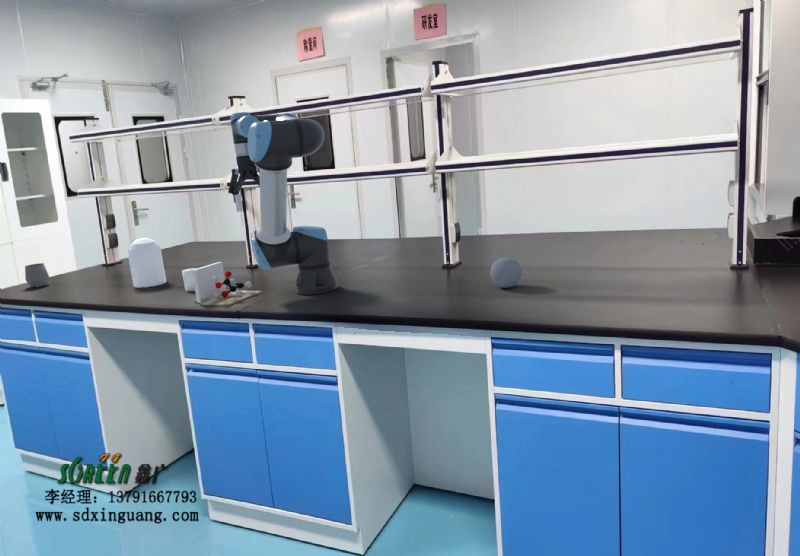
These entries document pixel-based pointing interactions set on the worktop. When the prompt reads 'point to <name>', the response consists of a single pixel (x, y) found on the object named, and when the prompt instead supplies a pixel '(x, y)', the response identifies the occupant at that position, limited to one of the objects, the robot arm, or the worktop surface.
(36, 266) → the cup
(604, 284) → the worktop surface
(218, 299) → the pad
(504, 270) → the decorative stone
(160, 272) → the container
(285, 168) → the robot arm
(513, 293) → the worktop surface
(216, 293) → the molecular model
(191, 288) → the white upright block
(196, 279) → the occluder screen
